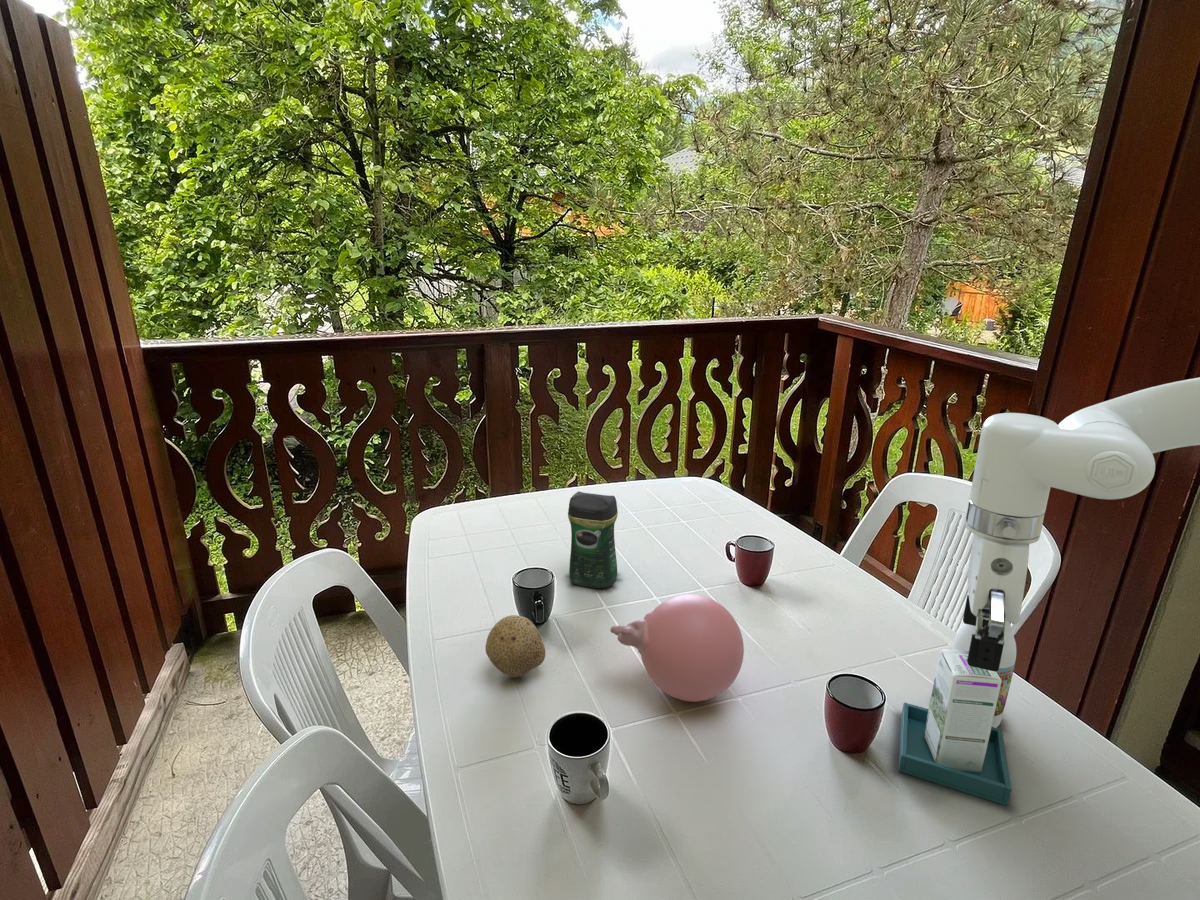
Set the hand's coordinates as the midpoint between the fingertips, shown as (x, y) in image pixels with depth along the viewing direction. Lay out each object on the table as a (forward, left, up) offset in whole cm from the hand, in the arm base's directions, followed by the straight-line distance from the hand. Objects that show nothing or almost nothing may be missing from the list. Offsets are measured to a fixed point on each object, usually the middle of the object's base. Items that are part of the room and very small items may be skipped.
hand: (979, 645), depth 79 cm
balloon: (+38, +3, -18) cm, 43 cm away
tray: (0, 0, -18) cm, 18 cm away
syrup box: (0, 0, -17) cm, 17 cm away
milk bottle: (-2, -11, -18) cm, 21 cm away
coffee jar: (+64, -21, -18) cm, 70 cm away
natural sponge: (+62, +11, -18) cm, 66 cm away
